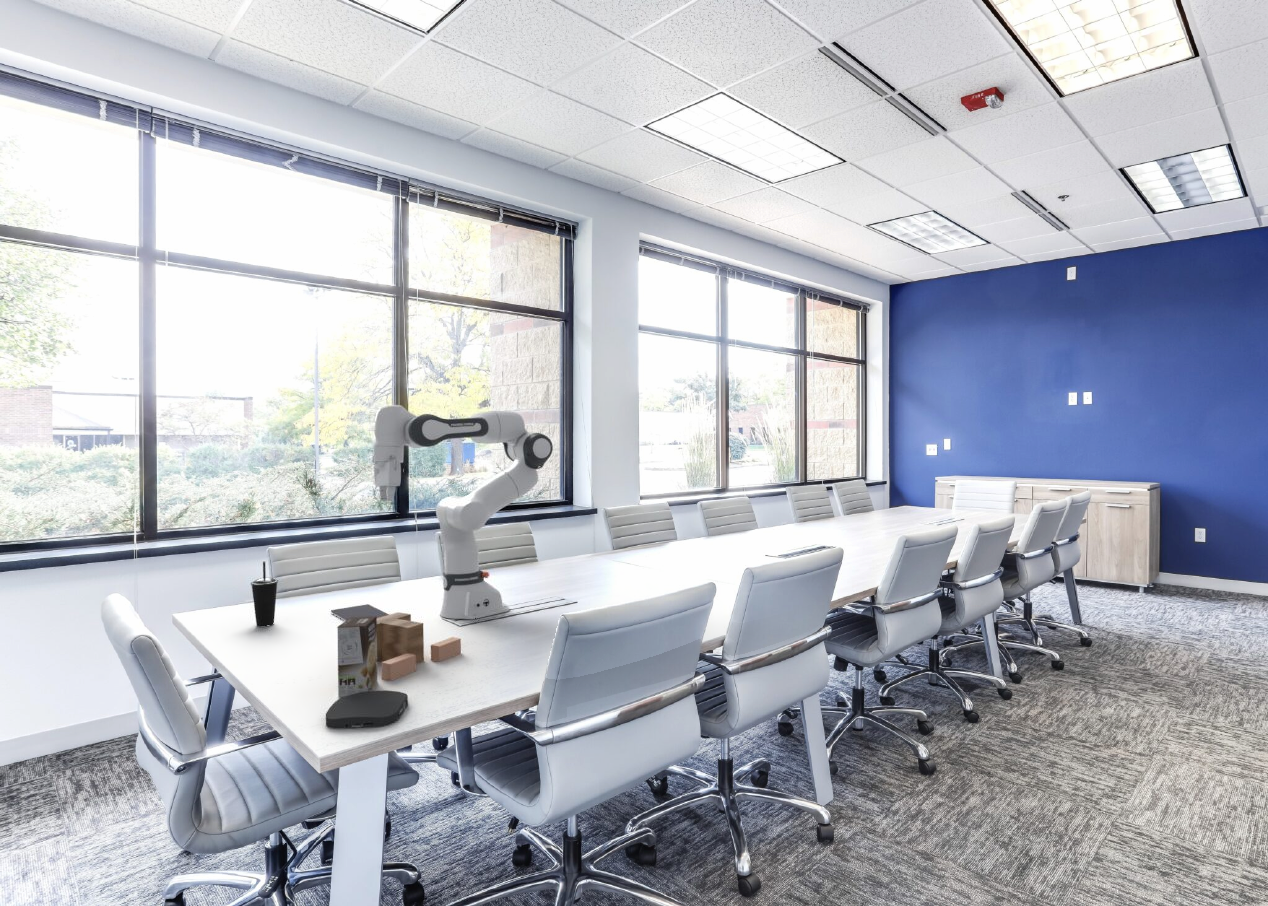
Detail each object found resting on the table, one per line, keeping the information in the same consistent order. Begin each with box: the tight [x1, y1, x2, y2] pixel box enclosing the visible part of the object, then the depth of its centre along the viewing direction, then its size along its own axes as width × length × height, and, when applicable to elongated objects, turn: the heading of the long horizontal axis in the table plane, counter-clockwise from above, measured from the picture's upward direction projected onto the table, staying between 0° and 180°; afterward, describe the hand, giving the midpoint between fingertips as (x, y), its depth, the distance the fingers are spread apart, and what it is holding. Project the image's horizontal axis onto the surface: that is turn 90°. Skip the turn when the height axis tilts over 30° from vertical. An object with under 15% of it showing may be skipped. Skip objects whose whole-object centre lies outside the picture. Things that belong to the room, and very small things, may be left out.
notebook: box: [330, 603, 390, 622], centre depth 228 cm, size 13×2×21 cm
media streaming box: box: [325, 689, 409, 730], centre depth 146 cm, size 15×15×3 cm
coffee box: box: [336, 617, 378, 698], centre depth 160 cm, size 9×6×16 cm
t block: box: [377, 611, 425, 665], centre depth 182 cm, size 15×15×10 cm
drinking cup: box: [250, 561, 279, 627], centre depth 218 cm, size 8×8×20 cm
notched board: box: [381, 636, 462, 681], centre depth 178 cm, size 3×24×4 cm, turn 151°
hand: (386, 501), depth 213 cm, fingers open, 8 cm apart
